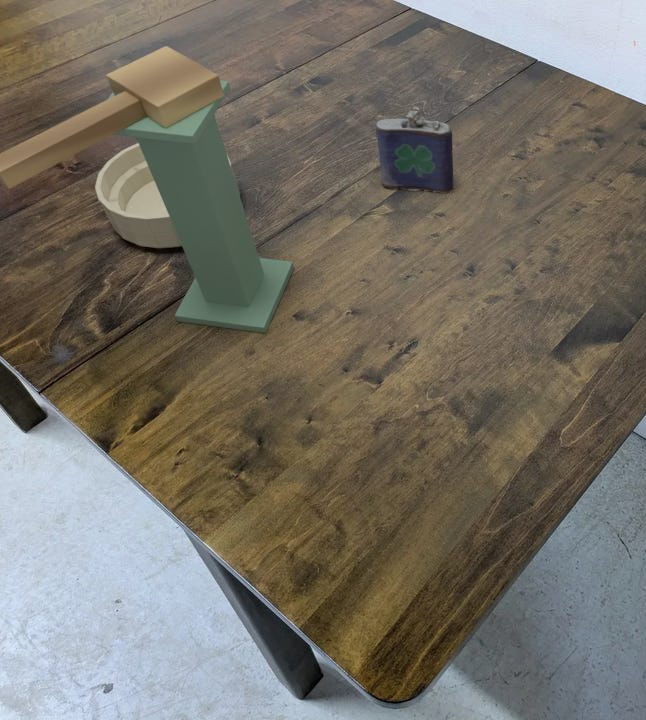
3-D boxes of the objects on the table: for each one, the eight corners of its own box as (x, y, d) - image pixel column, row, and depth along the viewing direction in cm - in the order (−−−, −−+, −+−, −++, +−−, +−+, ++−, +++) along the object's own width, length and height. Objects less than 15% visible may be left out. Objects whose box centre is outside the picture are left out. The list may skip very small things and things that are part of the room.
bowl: (91, 245, 85) (71, 209, 81) (146, 165, 94) (131, 129, 90) (214, 261, 84) (201, 225, 80) (258, 178, 93) (248, 142, 89)
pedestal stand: (177, 321, 78) (80, 123, 59) (211, 257, 84) (134, 57, 65) (265, 333, 78) (198, 136, 58) (294, 267, 84) (242, 69, 64)
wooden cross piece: (-22, 164, 55) (-37, 142, 54) (173, 66, 64) (166, 45, 62) (28, 204, 53) (14, 182, 51) (225, 96, 61) (218, 74, 60)
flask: (380, 189, 92) (372, 115, 84) (384, 174, 94) (377, 100, 86) (452, 194, 92) (451, 121, 83) (455, 180, 94) (454, 106, 85)
